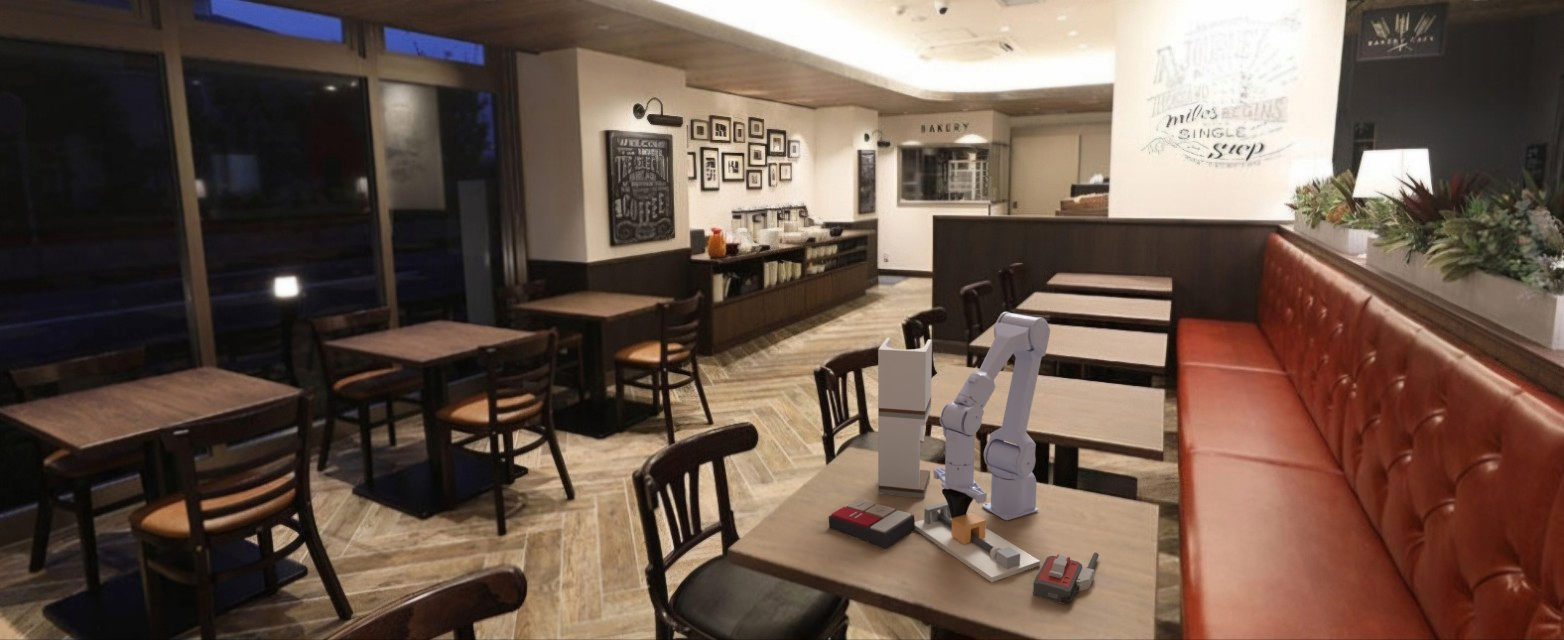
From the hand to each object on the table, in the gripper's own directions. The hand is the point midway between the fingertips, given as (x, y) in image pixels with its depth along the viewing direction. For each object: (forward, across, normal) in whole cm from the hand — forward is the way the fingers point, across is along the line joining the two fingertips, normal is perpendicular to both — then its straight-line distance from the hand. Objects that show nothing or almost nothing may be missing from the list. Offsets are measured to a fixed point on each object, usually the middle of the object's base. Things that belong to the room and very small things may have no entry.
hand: (958, 521), depth 164 cm
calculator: (+4, -12, -14) cm, 18 cm away
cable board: (+3, +5, 0) cm, 6 cm away
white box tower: (+3, -26, +5) cm, 27 cm away
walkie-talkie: (+4, +23, +7) cm, 24 cm away
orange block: (+2, +3, 0) cm, 4 cm away
